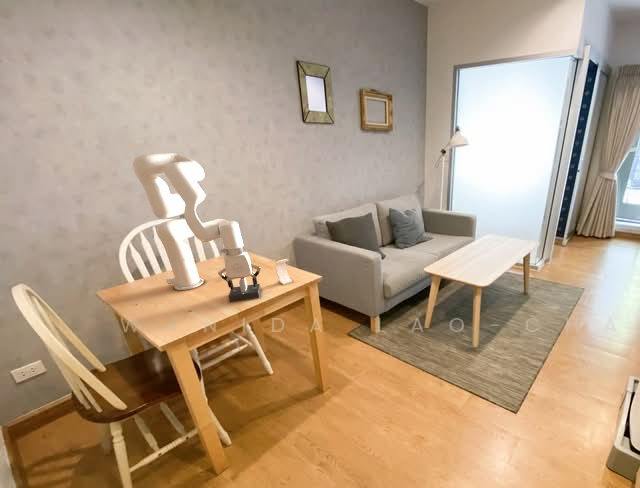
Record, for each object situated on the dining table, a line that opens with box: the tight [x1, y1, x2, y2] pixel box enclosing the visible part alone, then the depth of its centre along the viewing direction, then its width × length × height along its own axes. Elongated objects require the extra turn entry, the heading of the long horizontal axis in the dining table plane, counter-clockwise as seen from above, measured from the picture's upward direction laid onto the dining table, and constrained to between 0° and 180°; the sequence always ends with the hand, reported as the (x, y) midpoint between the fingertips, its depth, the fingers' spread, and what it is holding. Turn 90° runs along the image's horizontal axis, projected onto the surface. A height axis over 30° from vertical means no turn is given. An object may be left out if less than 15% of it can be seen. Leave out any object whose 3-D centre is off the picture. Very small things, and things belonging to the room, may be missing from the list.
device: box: [228, 283, 262, 303], centre depth 149 cm, size 12×10×3 cm
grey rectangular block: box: [238, 276, 248, 292], centre depth 147 cm, size 6×2×5 cm, turn 16°
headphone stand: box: [275, 258, 293, 286], centre depth 160 cm, size 5×6×12 cm
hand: (243, 286), depth 147 cm, fingers open, 9 cm apart
